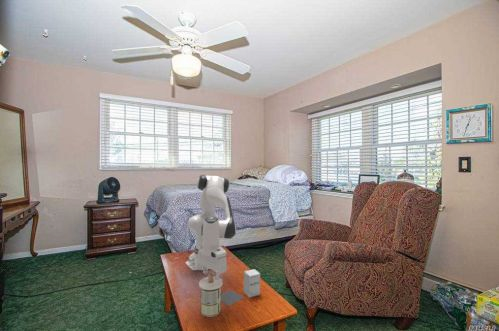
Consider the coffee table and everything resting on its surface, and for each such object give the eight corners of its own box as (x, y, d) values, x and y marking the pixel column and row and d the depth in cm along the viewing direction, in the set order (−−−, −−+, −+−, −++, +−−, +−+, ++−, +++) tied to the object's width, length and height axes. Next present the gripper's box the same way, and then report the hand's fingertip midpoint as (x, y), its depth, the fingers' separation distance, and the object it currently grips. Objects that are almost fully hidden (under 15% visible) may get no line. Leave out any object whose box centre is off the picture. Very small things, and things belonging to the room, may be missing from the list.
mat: (214, 298, 135) (214, 297, 135) (230, 290, 144) (230, 289, 144) (228, 306, 127) (228, 306, 127) (244, 297, 136) (244, 297, 136)
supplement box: (249, 298, 135) (249, 276, 135) (243, 292, 142) (243, 270, 142) (260, 295, 139) (260, 273, 139) (254, 289, 145) (254, 268, 145)
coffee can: (198, 308, 125) (198, 281, 125) (216, 303, 130) (216, 277, 130) (204, 320, 116) (204, 291, 116) (223, 314, 121) (224, 286, 121)
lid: (194, 284, 123) (194, 273, 123) (213, 276, 132) (213, 266, 132) (208, 292, 115) (208, 281, 115) (227, 284, 123) (227, 273, 123)
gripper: (194, 246, 128) (194, 271, 128) (219, 256, 114) (218, 285, 114) (203, 243, 132) (203, 268, 132) (228, 252, 118) (228, 280, 119)
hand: (210, 276), depth 123 cm, fingers open, 8 cm apart
